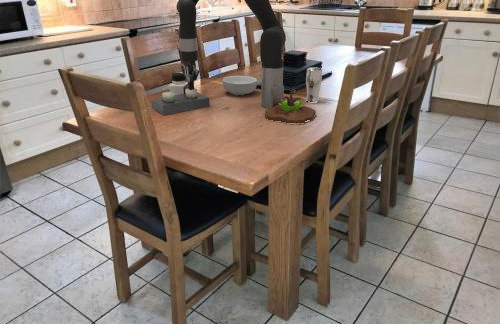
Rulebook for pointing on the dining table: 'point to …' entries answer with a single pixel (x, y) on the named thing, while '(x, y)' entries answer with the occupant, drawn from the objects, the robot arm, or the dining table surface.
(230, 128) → the dining table surface
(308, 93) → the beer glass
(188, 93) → the whitish grey jar
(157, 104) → the mount
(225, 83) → the cereal bowl
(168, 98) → the knob
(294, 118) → the plant
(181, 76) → the medicine bottle
